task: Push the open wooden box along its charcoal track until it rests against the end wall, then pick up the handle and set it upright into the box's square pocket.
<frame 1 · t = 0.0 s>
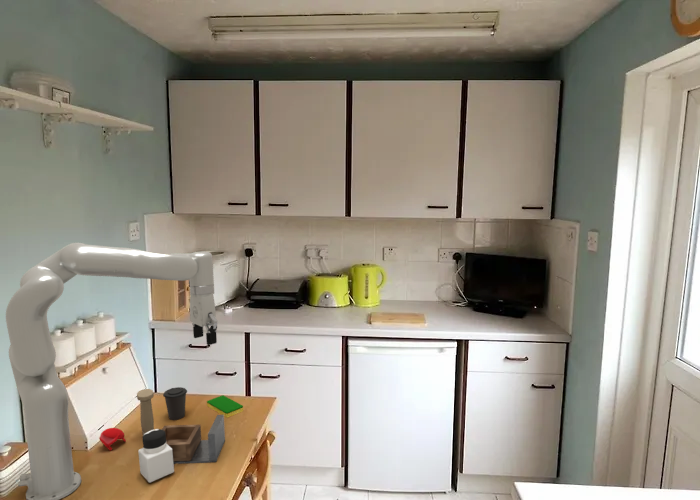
hand: (205, 340, 150), 31 cm above the table, tool pointing down, fingers open, 9 cm apart
medicine bottle: (157, 473, 129), on the table, touching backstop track, open wooden box
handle: (148, 436, 150), on the table
open wooden box: (176, 442, 140), point 3 cm above the table, slide at 5.0 cm, touching medicine bottle
dish sponge: (225, 410, 169), on the table
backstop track: (186, 452, 140), on the table
coffee cup: (176, 416, 163), on the table
cap: (113, 446, 145), on the table
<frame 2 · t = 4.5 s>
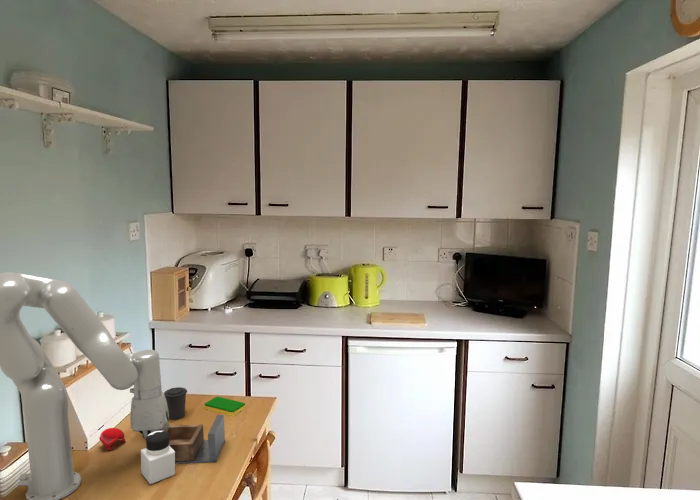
hand: (152, 447, 140), 2 cm above the table, tool pointing down, fingers closed
medicine bottle: (158, 474, 130), on the table
open wooden box: (179, 442, 140), point 3 cm above the table, slide at 4.1 cm, touching gripper
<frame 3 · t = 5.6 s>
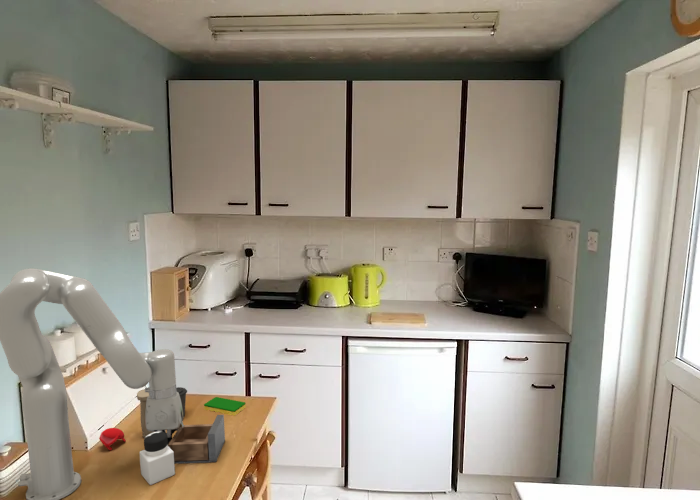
hand: (167, 447, 140), 2 cm above the table, tool pointing down, fingers closed
open wooden box: (193, 441, 140), point 3 cm above the table, slide at -0.2 cm, touching gripper
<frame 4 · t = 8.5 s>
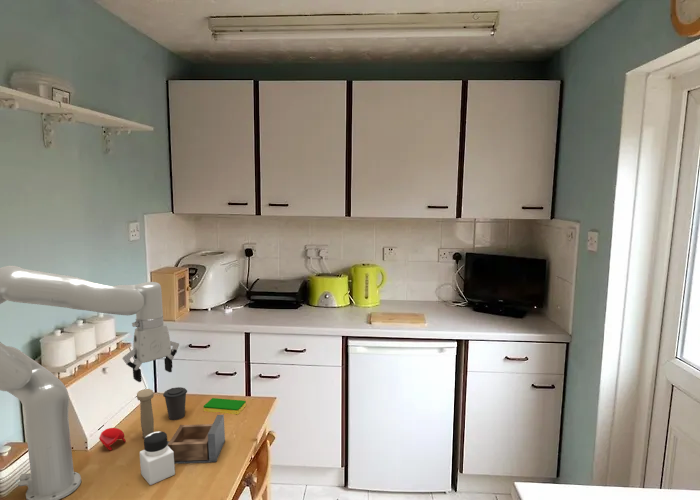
hand: (153, 375, 141), 23 cm above the table, tool pointing down, fingers open, 9 cm apart
open wooden box: (193, 441, 140), point 3 cm above the table, slide at 0.0 cm
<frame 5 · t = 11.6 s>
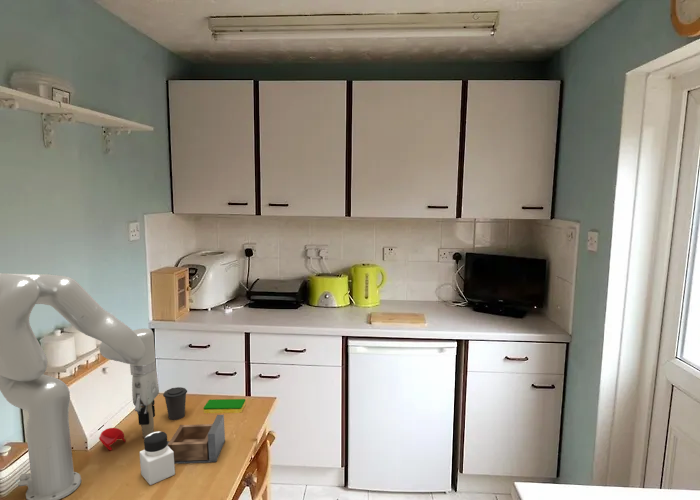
hand: (147, 420, 149), 6 cm above the table, tool pointing down, fingers closed on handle, 4 cm apart
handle: (148, 436, 150), on the table, touching gripper
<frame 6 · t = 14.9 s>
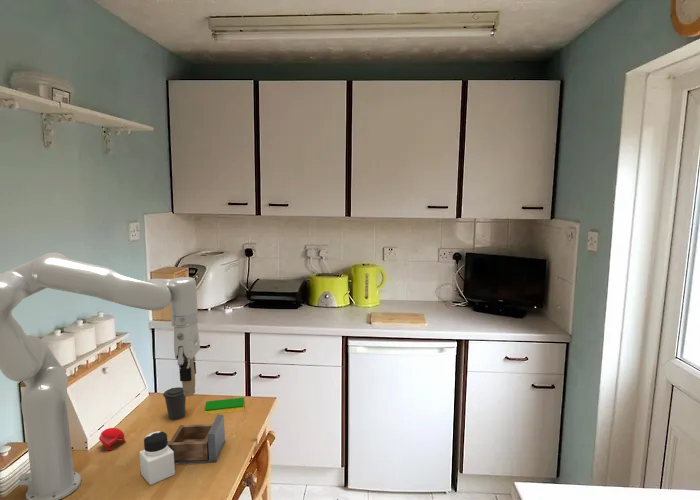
hand: (188, 377, 138), 24 cm above the table, tool pointing down, fingers closed on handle, 4 cm apart
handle: (189, 395, 138), point 18 cm above the table, touching gripper
when the fingers open (9 cm above the table, at t = 18.2 s): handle drops 1 cm, resting on open wooden box.
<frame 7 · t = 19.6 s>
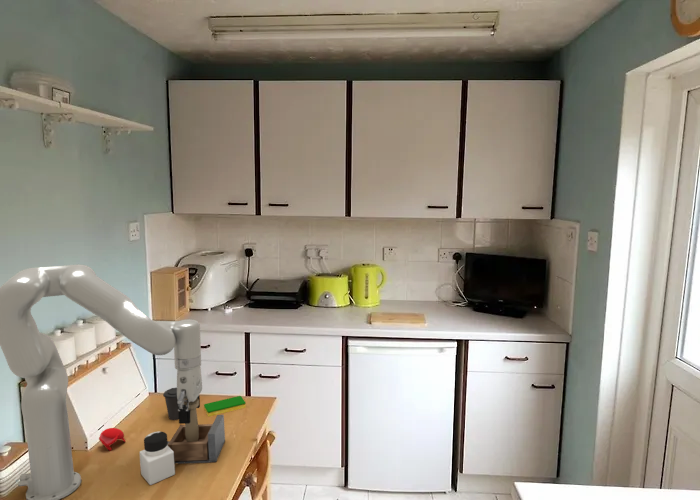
hand: (189, 415, 139), 12 cm above the table, tool pointing down, fingers open, 9 cm apart
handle: (193, 447, 140), point 2 cm above the table, touching open wooden box
open wooden box: (193, 441, 140), point 3 cm above the table, slide at 0.0 cm, touching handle
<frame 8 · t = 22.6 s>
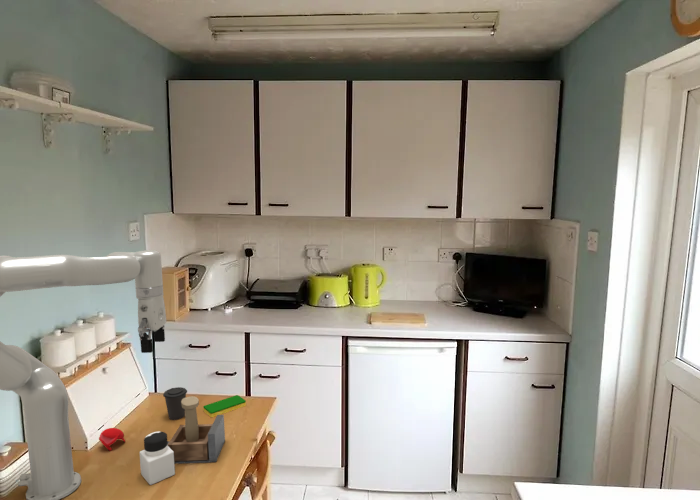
hand: (153, 346, 138), 33 cm above the table, tool pointing down, fingers open, 9 cm apart
at the end: open wooden box slide at 0.0 cm; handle 0.2 cm off-centre on the open wooden box, point 1.6 cm above the open wooden box's base; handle tilted 0° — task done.
